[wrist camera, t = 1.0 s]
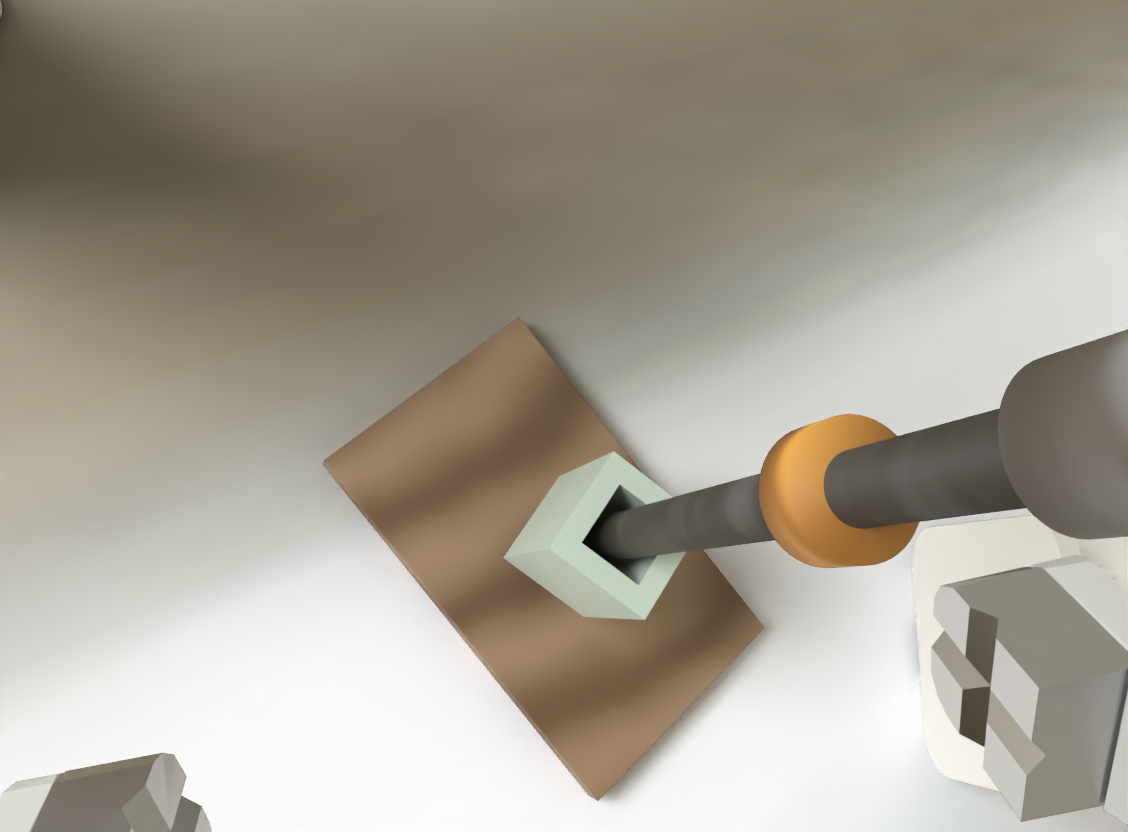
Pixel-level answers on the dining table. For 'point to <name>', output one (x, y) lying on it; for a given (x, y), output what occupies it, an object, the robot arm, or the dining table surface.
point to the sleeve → (575, 569)
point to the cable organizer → (970, 556)
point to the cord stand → (697, 521)
